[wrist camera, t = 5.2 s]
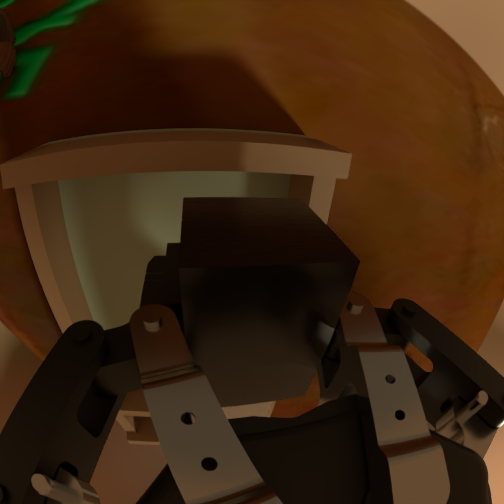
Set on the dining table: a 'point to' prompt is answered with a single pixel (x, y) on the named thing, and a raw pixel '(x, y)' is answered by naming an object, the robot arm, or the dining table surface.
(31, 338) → the dining table surface
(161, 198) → the wooden tray
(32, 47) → the dining table surface
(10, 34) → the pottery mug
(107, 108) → the dining table surface
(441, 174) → the dining table surface
